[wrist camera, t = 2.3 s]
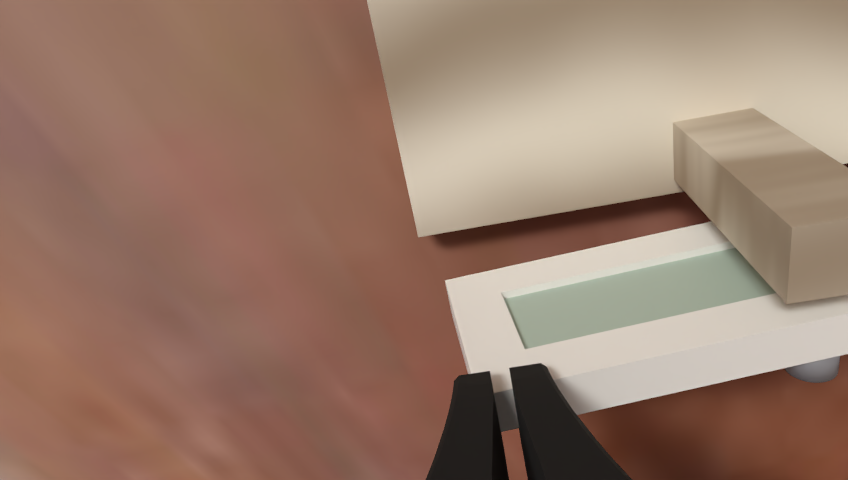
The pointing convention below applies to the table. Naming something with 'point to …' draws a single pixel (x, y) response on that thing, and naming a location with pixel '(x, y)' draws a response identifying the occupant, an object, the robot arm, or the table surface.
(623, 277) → the frame
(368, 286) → the table surface
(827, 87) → the easel stand
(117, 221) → the table surface
